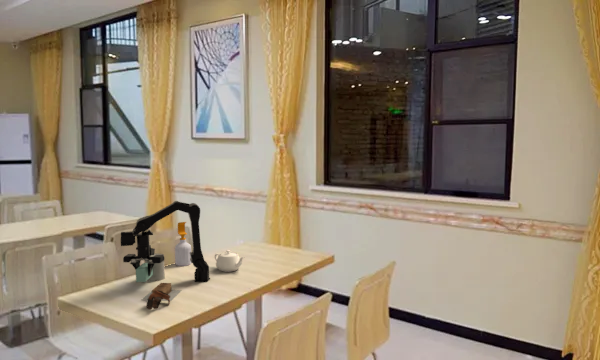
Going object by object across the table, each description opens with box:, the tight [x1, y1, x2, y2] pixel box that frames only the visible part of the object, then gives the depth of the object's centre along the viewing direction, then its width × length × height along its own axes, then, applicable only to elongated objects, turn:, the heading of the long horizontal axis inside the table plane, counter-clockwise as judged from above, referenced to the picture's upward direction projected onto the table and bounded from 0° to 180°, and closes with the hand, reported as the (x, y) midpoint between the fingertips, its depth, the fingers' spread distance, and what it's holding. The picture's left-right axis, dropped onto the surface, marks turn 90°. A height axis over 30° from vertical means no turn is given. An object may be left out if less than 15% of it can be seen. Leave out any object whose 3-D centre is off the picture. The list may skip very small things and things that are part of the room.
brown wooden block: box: [151, 286, 167, 299], centre depth 221 cm, size 5×5×4 cm
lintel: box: [135, 262, 153, 283], centre depth 235 cm, size 11×4×6 cm, turn 179°
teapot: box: [214, 249, 245, 273], centre depth 264 cm, size 22×14×11 cm, turn 55°
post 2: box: [156, 282, 173, 294], centre depth 227 cm, size 5×5×4 cm
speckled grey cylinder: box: [144, 252, 166, 282], centre depth 248 cm, size 10×10×12 cm
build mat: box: [141, 289, 182, 302], centre depth 224 cm, size 14×14×1 cm
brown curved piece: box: [145, 290, 171, 310], centre depth 210 cm, size 12×10×8 cm
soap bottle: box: [174, 221, 192, 267], centre depth 274 cm, size 9×9×25 cm
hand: (144, 275), depth 236 cm, fingers closed on lintel, 5 cm apart
